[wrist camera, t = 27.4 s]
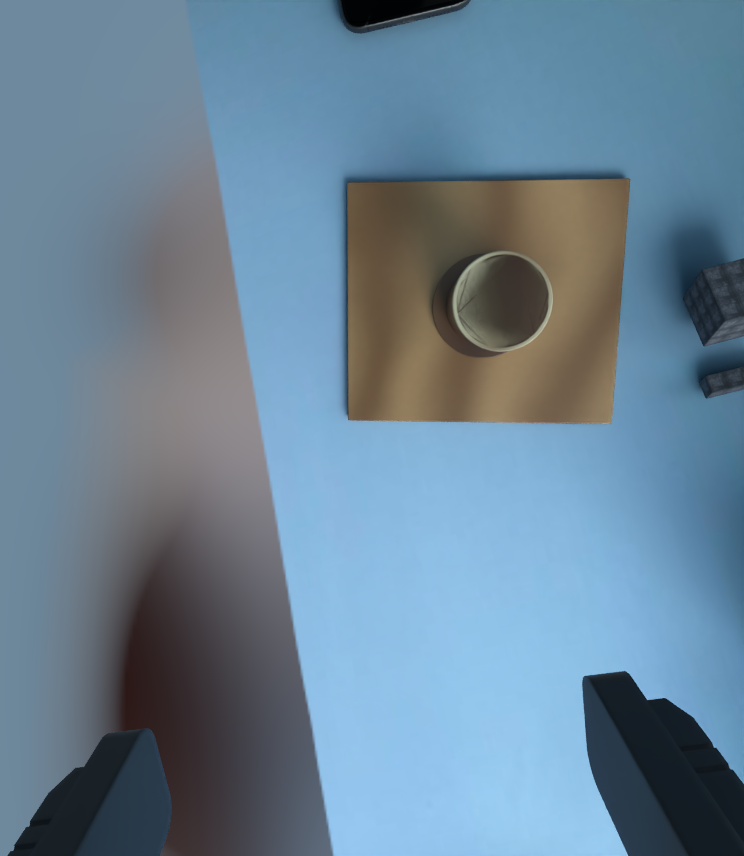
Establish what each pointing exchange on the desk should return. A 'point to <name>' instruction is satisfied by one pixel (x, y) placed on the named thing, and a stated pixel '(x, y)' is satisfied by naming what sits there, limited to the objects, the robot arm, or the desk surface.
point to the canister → (492, 303)
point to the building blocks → (719, 318)
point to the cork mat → (462, 237)
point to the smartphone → (392, 12)
